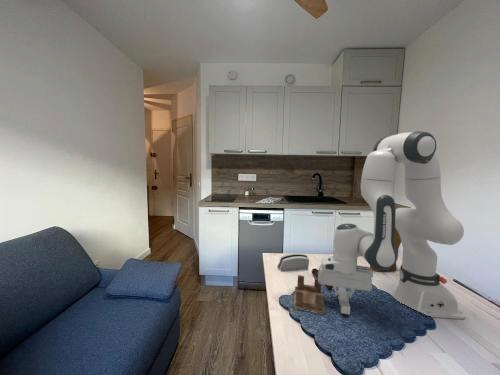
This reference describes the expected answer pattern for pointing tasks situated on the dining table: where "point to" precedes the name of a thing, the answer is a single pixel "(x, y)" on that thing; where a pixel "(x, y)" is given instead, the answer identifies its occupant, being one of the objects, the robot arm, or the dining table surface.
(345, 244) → the robot arm
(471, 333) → the dining table surface
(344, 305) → the steel pin
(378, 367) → the dining table surface
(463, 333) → the dining table surface
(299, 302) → the clevis block
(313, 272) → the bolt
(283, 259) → the grey napkin holder
